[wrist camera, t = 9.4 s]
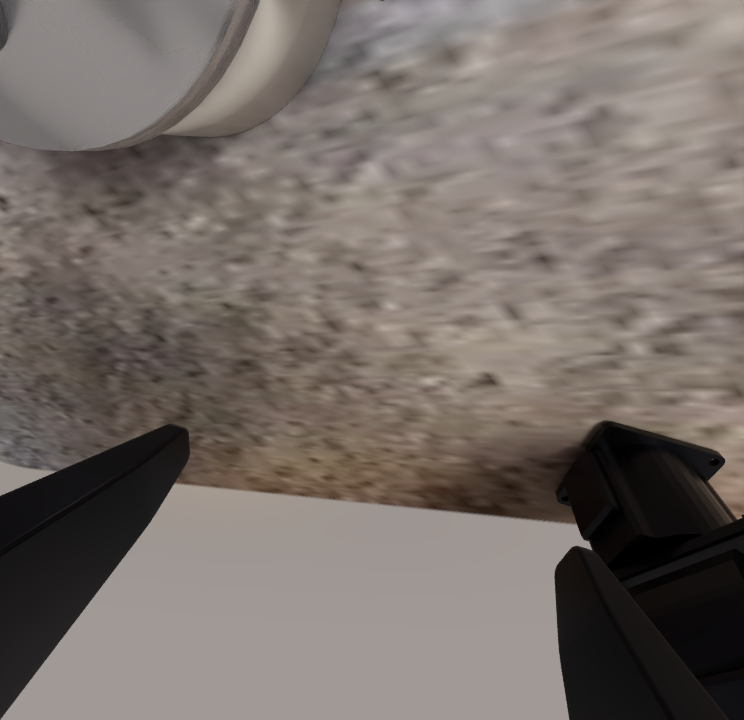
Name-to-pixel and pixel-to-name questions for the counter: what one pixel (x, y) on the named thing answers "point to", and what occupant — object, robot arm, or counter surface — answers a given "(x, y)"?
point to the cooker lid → (110, 67)
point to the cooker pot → (264, 68)
